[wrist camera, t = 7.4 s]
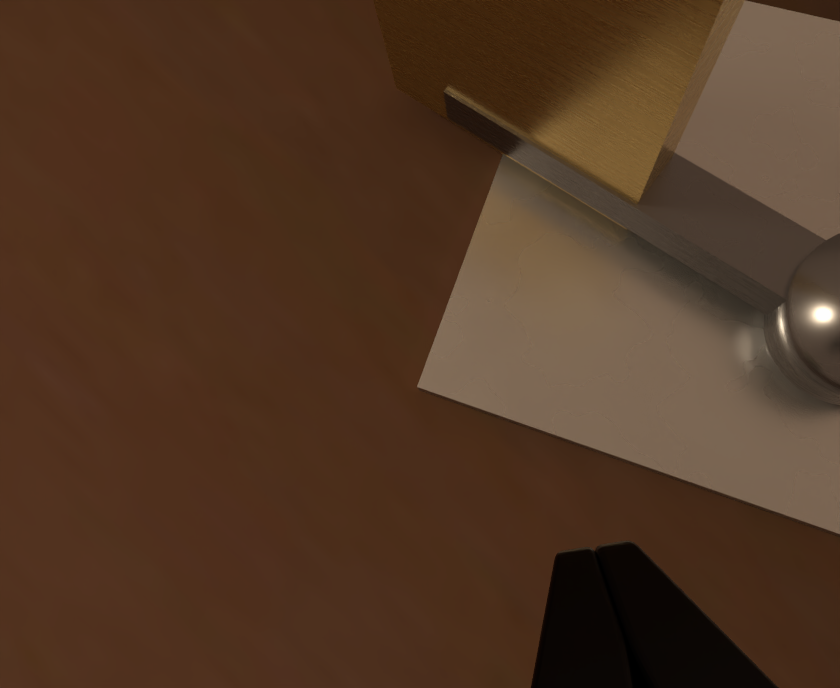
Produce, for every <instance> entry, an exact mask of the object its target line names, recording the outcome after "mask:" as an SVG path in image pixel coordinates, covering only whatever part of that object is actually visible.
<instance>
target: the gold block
mask: <svg viewBox="0 0 840 688" xmlns="http://www.w3.org/2000/svg"><path fill="white" fill-rule="evenodd" d="M373 1H374V5H375V9H376V13H377V16H378V20H379V24H380V28H381V32H382V35H383V39H384V43H385V47H386V50H387V54H388V58H389V62H390V66H391V69H392V73H393V77H394V81H395V85H396V88H397V89H399V90H401V91H402V92H404V93H405V94H407V95H409V96H410V97H412V98H414V99H415V100H417V101H418V102H420V103H422V104H423V105H425V106H427V107H428V108H430V109H431V110H433V111H435V112H436V113H438V114H440V115H441V116H443V117H444V118H446V119H448V120H449V121H451V122H453V123H454V124H456V125H457V126H459V127H461V128H462V129H464V130H466V131H467V132H469V133H470V134H472V135H474V136H475V137H477V138H479V139H480V140H482V141H483V142H485V143H487V144H488V145H490V146H492V147H493V148H495V149H496V150H498V151H500V152H501V153H503V154H505V155H506V156H508V157H509V158H511V159H513V160H514V161H516V162H518V163H519V164H521V165H522V166H524V167H526V168H527V169H529V170H531V171H532V172H534V173H535V174H537V175H539V176H540V177H542V178H544V179H545V180H547V181H548V182H550V183H552V184H553V185H555V186H557V187H558V188H560V189H561V190H563V191H565V192H566V193H568V194H570V195H571V196H573V197H574V198H576V199H578V200H579V201H581V202H583V203H584V204H586V205H587V206H589V207H591V208H592V209H594V210H596V211H597V212H599V213H600V214H602V215H604V216H605V217H607V218H609V219H610V220H612V221H613V222H615V223H617V224H618V225H620V226H622V227H623V228H625V229H626V230H627V229H628V230H630V231H631V232H633V233H635V234H636V235H638V236H639V237H641V238H643V239H644V240H646V241H648V242H649V243H651V244H653V245H654V246H656V247H657V248H659V249H661V250H662V251H664V252H666V253H667V254H669V255H670V256H672V257H674V258H675V259H677V260H679V261H680V262H682V263H683V264H685V265H687V266H688V267H690V268H692V269H693V270H695V271H696V272H698V273H700V274H701V275H703V276H705V277H706V278H708V279H709V280H711V281H713V282H714V283H716V284H718V285H719V286H721V287H722V288H724V289H726V290H727V291H729V292H731V293H732V294H734V295H735V296H737V297H739V298H740V299H742V300H744V301H745V302H747V303H748V304H750V305H752V306H753V307H755V308H757V309H758V310H760V311H761V312H763V313H764V318H763V330H764V337H765V342H766V345H767V348H768V351H769V353H770V355H771V357H772V359H773V361H774V362H775V364H776V365H777V367H778V369H779V370H780V371H781V372H782V373H783V375H784V376H785V377H786V378H787V379H788V380H789V381H790V382H791V383H793V384H794V385H795V386H796V387H798V388H799V389H800V390H802V391H803V392H805V393H807V394H809V395H810V396H812V397H814V398H817V399H819V400H822V401H825V402H828V403H832V404H836V405H840V234H837V235H835V236H833V237H831V238H829V239H827V240H825V239H823V238H822V237H820V236H818V235H816V234H815V233H813V232H811V231H810V230H808V229H806V228H804V227H803V226H801V225H799V224H797V223H796V222H794V221H792V220H791V219H789V218H787V217H785V216H784V215H782V214H780V213H778V212H777V211H775V210H773V209H771V208H770V207H768V206H766V205H765V204H763V203H761V202H759V201H758V200H756V199H754V198H752V197H751V196H749V195H747V194H746V193H744V192H742V191H740V190H739V189H737V188H735V187H733V186H732V185H730V184H728V183H727V182H725V181H723V180H721V179H720V178H718V177H716V176H714V175H713V174H711V173H709V172H707V171H706V170H704V169H702V168H701V167H699V166H697V165H695V164H694V163H692V162H690V161H688V160H687V159H685V158H683V157H682V156H680V155H678V154H676V153H675V150H676V148H677V146H678V143H679V141H680V139H681V137H682V135H683V133H684V131H685V128H686V126H687V124H688V122H689V120H690V118H691V115H692V113H693V111H694V109H695V107H696V105H697V102H698V100H699V98H700V96H701V94H702V92H703V90H704V87H705V85H706V83H707V81H708V79H709V77H710V74H711V72H712V70H713V68H714V66H715V64H716V61H717V59H718V57H719V55H720V53H721V51H722V49H723V46H724V44H725V42H726V40H727V38H728V36H729V33H730V31H731V29H732V27H733V25H734V23H735V21H736V18H737V16H738V14H739V12H740V10H741V8H742V5H743V3H744V1H745V0H373Z"/></svg>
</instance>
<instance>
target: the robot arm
mask: <svg viewBox="0 0 840 688" xmlns="http://www.w3.org/2000/svg"><path fill="white" fill-rule="evenodd" d="M531 688H778V687H777V686H776V685H775V684H774V683H773V682H772V681H771V680H770V679H769V678H768V677H767V676H766V675H765V674H764V673H763V672H762V671H761V670H760V669H759V668H758V666H757V665H756V664H755V663H754V662H753V661H752V660H751V659H750V658H749V657H748V656H747V655H746V654H745V653H744V652H743V651H742V650H741V649H740V648H739V647H738V646H737V645H736V644H735V643H734V642H733V641H732V640H731V639H730V638H729V637H728V636H727V635H726V634H725V633H724V632H723V631H722V630H721V629H720V628H719V627H718V626H717V625H716V624H715V623H714V622H713V621H712V620H711V619H710V618H709V617H708V616H707V615H706V614H705V613H704V612H703V611H702V610H701V609H700V608H699V607H698V606H697V605H696V604H695V603H694V602H693V601H692V600H691V599H690V598H689V597H688V596H687V595H686V594H685V593H684V592H683V591H682V590H681V589H680V588H679V587H678V586H677V585H676V584H675V583H674V582H673V581H672V580H671V579H670V578H669V577H668V576H667V575H666V573H665V572H664V571H663V570H662V569H661V568H660V567H659V566H658V565H657V564H656V563H655V562H654V561H653V560H652V559H651V558H650V557H649V556H648V555H647V554H646V553H645V552H644V551H643V550H642V549H641V548H640V547H639V546H638V545H636V544H635V543H634V542H631V541H621V542H615V543H609V544H602V545H599V546H598V547H597V548H596V550H595V551H594V550H593V549H592V548H590V547H584V548H577V549H571V550H565V551H560V552H559V553H557V555H556V557H555V560H554V565H553V571H552V576H551V582H550V587H549V593H548V598H547V603H546V609H545V614H544V620H543V625H542V631H541V636H540V641H539V647H538V652H537V658H536V663H535V669H534V674H533V679H532V685H531Z"/></svg>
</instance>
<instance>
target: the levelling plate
mask: <svg viewBox="0 0 840 688" xmlns="http://www.w3.org/2000/svg"><path fill="white" fill-rule="evenodd" d="M675 153H676V154H678V155H680V156H682V157H683V158H685V159H687V160H688V161H690V162H692V163H694V164H695V165H697V166H699V167H701V168H702V169H704V170H706V171H707V172H709V173H711V174H713V175H714V176H716V177H718V178H720V179H721V180H723V181H725V182H727V183H728V184H730V185H732V186H733V187H735V188H737V189H739V190H740V191H742V192H744V193H746V194H747V195H749V196H751V197H752V198H754V199H756V200H758V201H759V202H761V203H763V204H765V205H766V206H768V207H770V208H771V209H773V210H775V211H777V212H778V213H780V214H782V215H784V216H785V217H787V218H789V219H791V220H792V221H794V222H796V223H797V224H799V225H801V226H803V227H804V228H806V229H808V230H810V231H811V232H813V233H815V234H816V235H818V236H820V237H822V238H823V239H825V240H827V239H829V238H831V237H833V236H835V235H837V234H840V22H838V21H834V20H829V19H825V18H821V17H816V16H812V15H807V14H803V13H798V12H794V11H789V10H785V9H781V8H776V7H772V6H767V5H763V4H758V3H754V2H749V1H744V3H743V5H742V8H741V10H740V12H739V14H738V16H737V18H736V21H735V23H734V25H733V27H732V29H731V31H730V33H729V36H728V38H727V40H726V42H725V44H724V46H723V49H722V51H721V53H720V55H719V57H718V59H717V61H716V64H715V66H714V68H713V70H712V72H711V74H710V77H709V79H708V81H707V83H706V85H705V87H704V90H703V92H702V94H701V96H700V98H699V100H698V102H697V105H696V107H695V109H694V111H693V113H692V115H691V118H690V120H689V122H688V124H687V126H686V128H685V131H684V133H683V135H682V137H681V139H680V141H679V143H678V146H677V148H676V150H675ZM763 318H764V313H763V312H761V311H760V310H758V309H757V308H755V307H753V306H752V305H750V304H748V303H747V302H745V301H744V300H742V299H740V298H739V297H737V296H735V295H734V294H732V293H731V292H729V291H727V290H726V289H724V288H722V287H721V286H719V285H718V284H716V283H714V282H713V281H711V280H709V279H708V278H706V277H705V276H703V275H701V274H700V273H698V272H696V271H695V270H693V269H692V268H690V267H688V266H687V265H685V264H683V263H682V262H680V261H679V260H677V259H675V258H674V257H672V256H670V255H669V254H667V253H666V252H664V251H662V250H661V249H659V248H657V247H656V246H654V245H653V244H651V243H649V242H648V241H646V240H644V239H643V238H641V237H639V236H638V235H636V234H635V233H633V232H631V231H630V230H628V229H627V230H626V229H625V228H623V227H622V226H620V225H618V224H617V223H615V222H613V221H612V220H610V219H609V218H607V217H605V216H604V215H602V214H600V213H599V212H597V211H596V210H594V209H592V208H591V207H589V206H587V205H586V204H584V203H583V202H581V201H579V200H578V199H576V198H574V197H573V196H571V195H570V194H568V193H566V192H565V191H563V190H561V189H560V188H558V187H557V186H555V185H553V184H552V183H550V182H548V181H547V180H545V179H544V178H542V177H540V176H539V175H537V174H535V173H534V172H532V171H531V170H529V169H527V168H526V167H524V166H522V165H521V164H519V163H518V162H516V161H514V160H513V159H511V158H509V157H508V156H506V155H505V154H503V156H502V158H501V161H500V164H499V167H498V169H497V172H496V175H495V177H494V180H493V183H492V186H491V188H490V191H489V194H488V196H487V199H486V202H485V204H484V207H483V210H482V213H481V215H480V218H479V221H478V223H477V226H476V229H475V232H474V234H473V237H472V240H471V242H470V245H469V248H468V251H467V253H466V256H465V259H464V261H463V264H462V267H461V270H460V272H459V275H458V278H457V280H456V283H455V286H454V289H453V291H452V294H451V297H450V299H449V302H448V305H447V308H446V310H445V313H444V316H443V318H442V321H441V324H440V326H439V329H438V332H437V335H436V337H435V340H434V343H433V345H432V348H431V351H430V354H429V356H428V359H427V362H426V364H425V367H424V370H423V373H422V375H421V378H420V381H419V383H418V386H417V387H418V389H419V390H420V391H423V392H426V393H429V394H431V395H434V396H437V397H440V398H443V399H446V400H449V401H451V402H454V403H457V404H460V405H463V406H466V407H469V408H472V409H474V410H477V411H480V412H483V413H486V414H489V415H492V416H495V417H497V418H500V419H503V420H506V421H509V422H512V423H515V424H517V425H520V426H523V427H526V428H529V429H532V430H535V431H538V432H540V433H543V434H546V435H549V436H552V437H555V438H558V439H560V440H563V441H566V442H569V443H572V444H575V445H578V446H581V447H583V448H586V449H589V450H592V451H595V452H598V453H601V454H603V455H606V456H609V457H612V458H615V459H618V460H621V461H624V462H626V463H629V464H632V465H635V466H638V467H641V468H644V469H646V470H649V471H652V472H655V473H658V474H661V475H664V476H667V477H669V478H672V479H675V480H678V481H681V482H684V483H687V484H689V485H692V486H695V487H698V488H701V489H704V490H707V491H710V492H712V493H715V494H718V495H721V496H724V497H727V498H730V499H732V500H735V501H738V502H741V503H744V504H747V505H750V506H753V507H755V508H758V509H761V510H764V511H767V512H770V513H773V514H775V515H778V516H781V517H784V518H787V519H790V520H793V521H796V522H798V523H801V524H804V525H807V526H810V527H813V528H816V529H818V530H821V531H824V532H827V533H830V534H833V535H836V536H839V537H840V405H836V404H832V403H828V402H825V401H822V400H819V399H817V398H814V397H812V396H810V395H809V394H807V393H805V392H803V391H802V390H800V389H799V388H798V387H796V386H795V385H794V384H793V383H791V382H790V381H789V380H788V379H787V378H786V377H785V376H784V375H783V373H782V372H781V371H780V370H779V369H778V367H777V365H776V364H775V362H774V361H773V359H772V357H771V355H770V353H769V351H768V348H767V345H766V342H765V337H764V330H763Z"/></svg>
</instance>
